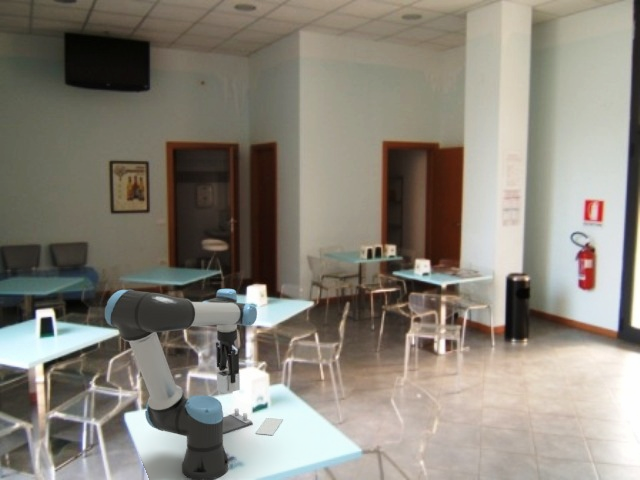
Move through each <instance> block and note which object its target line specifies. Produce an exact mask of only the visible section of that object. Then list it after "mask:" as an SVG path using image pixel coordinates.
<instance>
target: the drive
mask: <svg viewBox="0 0 640 480" xmlns="http://www.w3.org/2000/svg"><path fill="white" fill-rule="evenodd" d="M228 374H229V369H227V371H223V372H220V371H219V372H217V373H216V387H217V388H216V389H217V391H218V392H219V393H221V394H223V395H226V394H230V393H233V392H236V391H240V390H241V389H240V388H241V387H240V386H241V384H240V380H241V379H240V376H241V375H240V373H239V374H236V375H235V380H236V382H235V390H234V391H230V392H229V391H228Z"/></svg>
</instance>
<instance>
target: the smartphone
mask: <svg viewBox="0 0 640 480" xmlns="http://www.w3.org/2000/svg"><path fill="white" fill-rule="evenodd" d="M283 421H284V419H283V418H271V417H268V418H267V417H266V418H265V420H263V422H262V424H261V425H260V426H259V428H258V429H257V430H256V432H255V434H256V435H260V436H261V435H262V436H271V437H272V436H274V434H275V433H276V431H278V428H280V426H281V424H282V422H283Z"/></svg>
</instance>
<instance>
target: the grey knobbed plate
mask: <svg viewBox="0 0 640 480" xmlns="http://www.w3.org/2000/svg"><path fill="white" fill-rule="evenodd" d="M239 412H240V411H239V408H235V409H234V413H230V414H229V415H226V416H223V435H225V434H229V433H231V432H235V431H238V430H240V429H244V428H246V427H250V426H252V425H253V424H254V422H253V421H252V420H251V419H249V418H248V413H246V412H244V413H243V414H242V415H241V414H240V413H239Z"/></svg>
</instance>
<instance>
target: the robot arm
mask: <svg viewBox="0 0 640 480" xmlns="http://www.w3.org/2000/svg"><path fill="white" fill-rule="evenodd" d="M215 295H216V296H215V297H214V298H210V299H206V300H203V301H191V299H188V298H184V297H181V298H180V297H174V296H171V295H167V294H162V293H158V292H157V293H156V292H148V291H139V290H135V289H134V290H133V289H120V290H117V291H116V292H114V293H112V295H111V296H110V298H109V299H108V300H107V303H106V306H105V308H104V318H105V322H106V323H107V324H108V325H109V326H111V327H112V328H117V329H118V332H119V335H120V337H121V339H122V340H123V341H125V342H128V343H129V346H130V349H131V351H132V353H133V356H134V358H135V361H136V363H137V366H138V369H139V370H140V373H141V376H142V378H143V382H144V384H145V386H146V389H147V391H148V394H149V397H148V399H147V403H146V406H145V409H146V410H145V413H144V415H145V420H146V422H147V423H148V425H149V426H151V427H152V428H154V429H156V430H158V431H161V432H167V433H170V434H171V433H172V434H176V435H180V436H184V437H186V451H185V453H184V456H183V460H182V464H181V472H182V475H183V476H184V477H185V478H187V479H190V480H214V479H215V480H216V479H218V478H219V477H222V476H223V475H225V474H226V473H227V472H228V471H229V468H228V464H229V458H228V455H227V453H226V449H225V447H224V434H223V417H224V412H223V405H222V402H221V401H220V400H219V399H218V398H216V397H213V396H210V395H207V394H206V395H200V394H199V395H193V396H190V397H189V398H187V397H185V394H184V391H183V388H182V387H181V386H179V385H177V384H176V382H175V380H174V377H173V374H172V372H171V369H170V367H169V364H168V361H167V359H166V355H165V352H164V350H163V346H162V344H161V342H160V339H159V336H158V334H157V333H164V332H172V331H174V332H175V331H181V330H182V331H184V330H188V329H190V328H191V327H201V326H202V327H203V326H216V329H217V331H216V337H217V342H215V347H216V367H217V368H218V370H219V372H223V371H227V370H229V374H228V391H229V392H230V391H233V392H235V391H234V390H235V382H236V380H235V375H236V374H239V375H240V360H239V359H240V356H239V355H240V348H237V347H236V344H235V341H236V340H237V339H238V330H237V328H238V325H241V326H253V325H254V324H255V323H256V321H257V316H258V311H257V307H256V306H255V305H254V304H250V303H243V302H238V298H237V297H238V296H237V291H236V290H235V289H232V288H221V289H218V290H217V291H216V294H215ZM227 366H228V367H227ZM230 393H231V392H230ZM229 465H230V464H229Z"/></svg>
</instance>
